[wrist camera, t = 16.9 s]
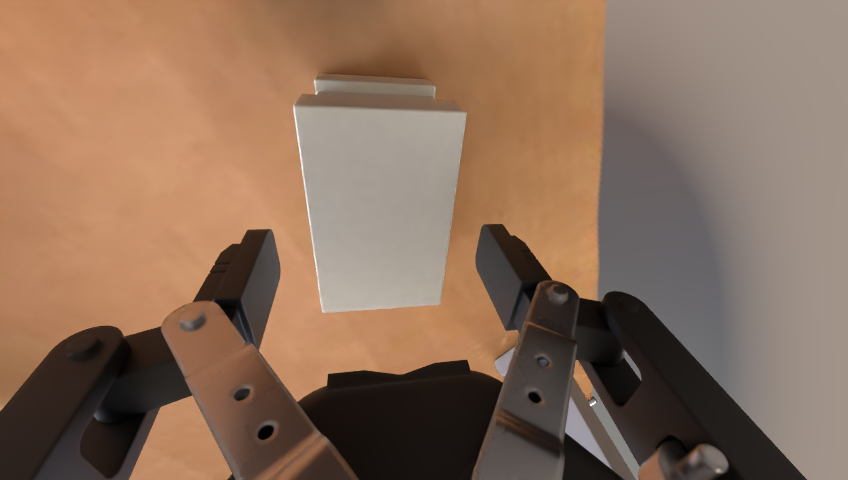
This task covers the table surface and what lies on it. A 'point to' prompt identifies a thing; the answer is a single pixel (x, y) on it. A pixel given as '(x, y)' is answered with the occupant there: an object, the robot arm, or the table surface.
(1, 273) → the table surface
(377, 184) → the white book
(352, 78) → the white stack
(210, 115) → the table surface
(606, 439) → the vintage mobile phone
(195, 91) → the table surface
